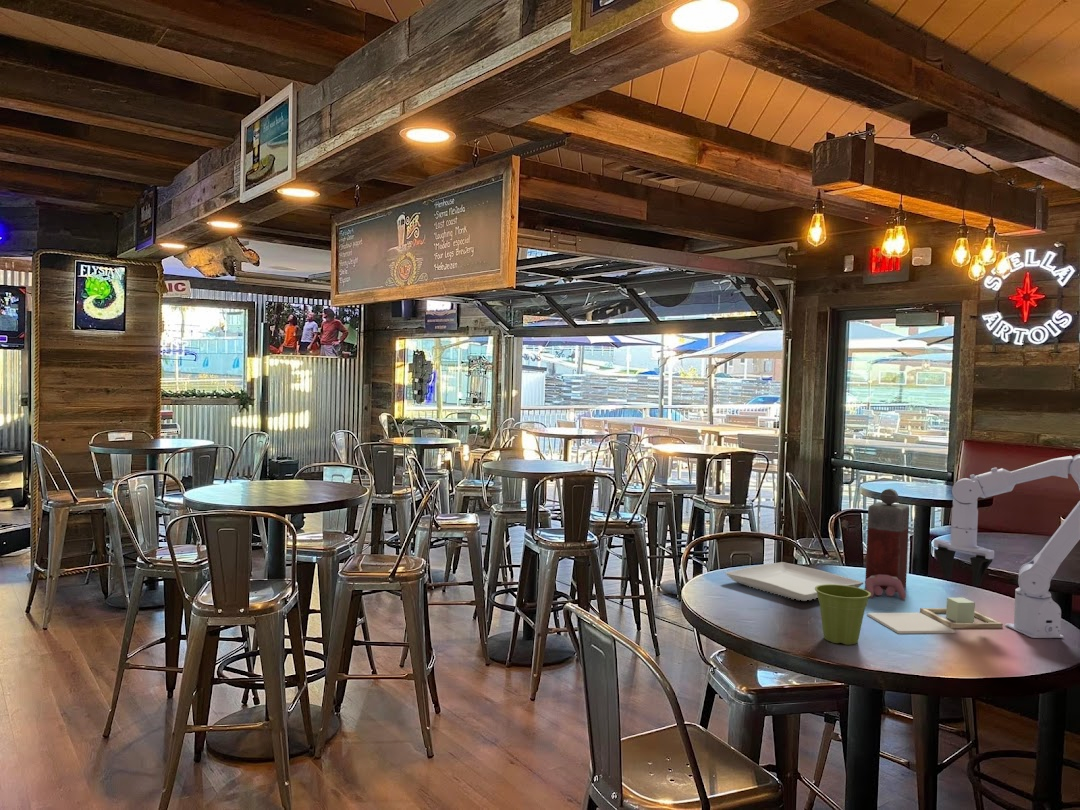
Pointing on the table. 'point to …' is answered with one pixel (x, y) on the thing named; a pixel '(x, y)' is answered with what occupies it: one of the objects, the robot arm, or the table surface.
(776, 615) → the table surface
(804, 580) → the square plate
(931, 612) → the maple pocket frame
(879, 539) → the brown canister
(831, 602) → the plant pot
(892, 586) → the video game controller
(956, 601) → the sage block
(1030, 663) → the table surface
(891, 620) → the beige mat
